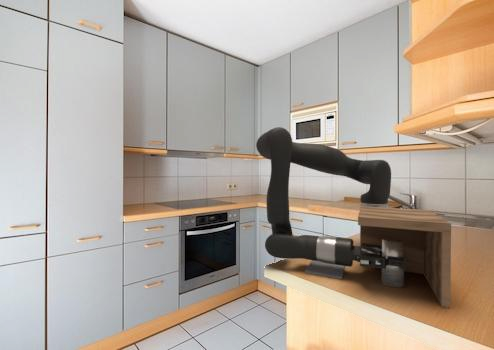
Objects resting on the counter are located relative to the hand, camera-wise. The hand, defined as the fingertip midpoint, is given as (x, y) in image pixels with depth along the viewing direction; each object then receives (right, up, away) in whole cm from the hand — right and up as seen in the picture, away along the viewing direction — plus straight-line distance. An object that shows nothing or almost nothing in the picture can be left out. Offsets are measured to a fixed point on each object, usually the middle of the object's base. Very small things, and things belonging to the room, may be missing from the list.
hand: (404, 259), depth 65 cm
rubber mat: (-17, -6, +10) cm, 21 cm away
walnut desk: (-1, -6, +2) cm, 7 cm away
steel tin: (-2, -6, +1) cm, 7 cm away
